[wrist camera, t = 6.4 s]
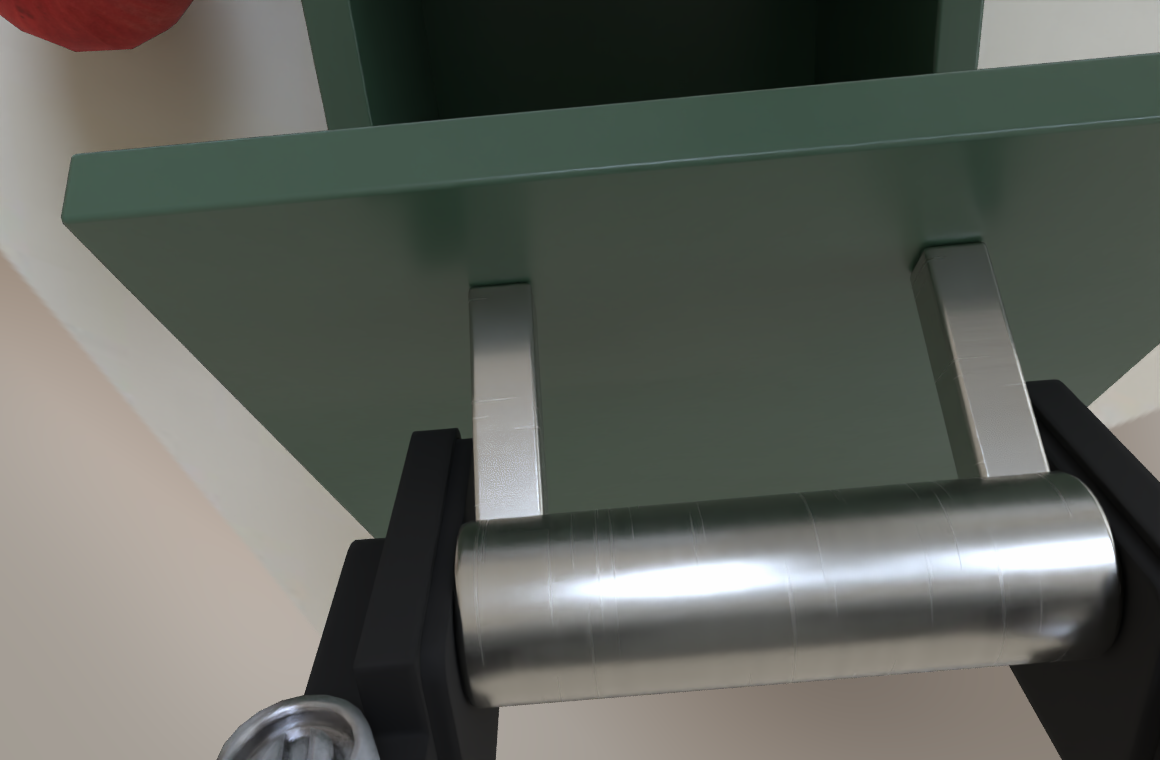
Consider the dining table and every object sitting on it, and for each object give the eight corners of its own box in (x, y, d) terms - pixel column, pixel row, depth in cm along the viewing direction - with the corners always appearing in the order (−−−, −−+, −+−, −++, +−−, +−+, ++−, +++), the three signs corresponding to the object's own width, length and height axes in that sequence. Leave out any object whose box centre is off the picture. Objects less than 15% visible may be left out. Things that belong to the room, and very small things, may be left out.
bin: (373, -124, 26) (274, -123, 17) (845, -170, 26) (1006, -196, 17) (453, 362, 33) (414, 550, 24) (827, 328, 33) (934, 506, 24)
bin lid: (69, 151, 9) (-31, 718, 7) (1412, 25, 9) (1715, 576, 7) (412, 545, 24) (412, 774, 21) (937, 501, 23) (990, 728, 21)
